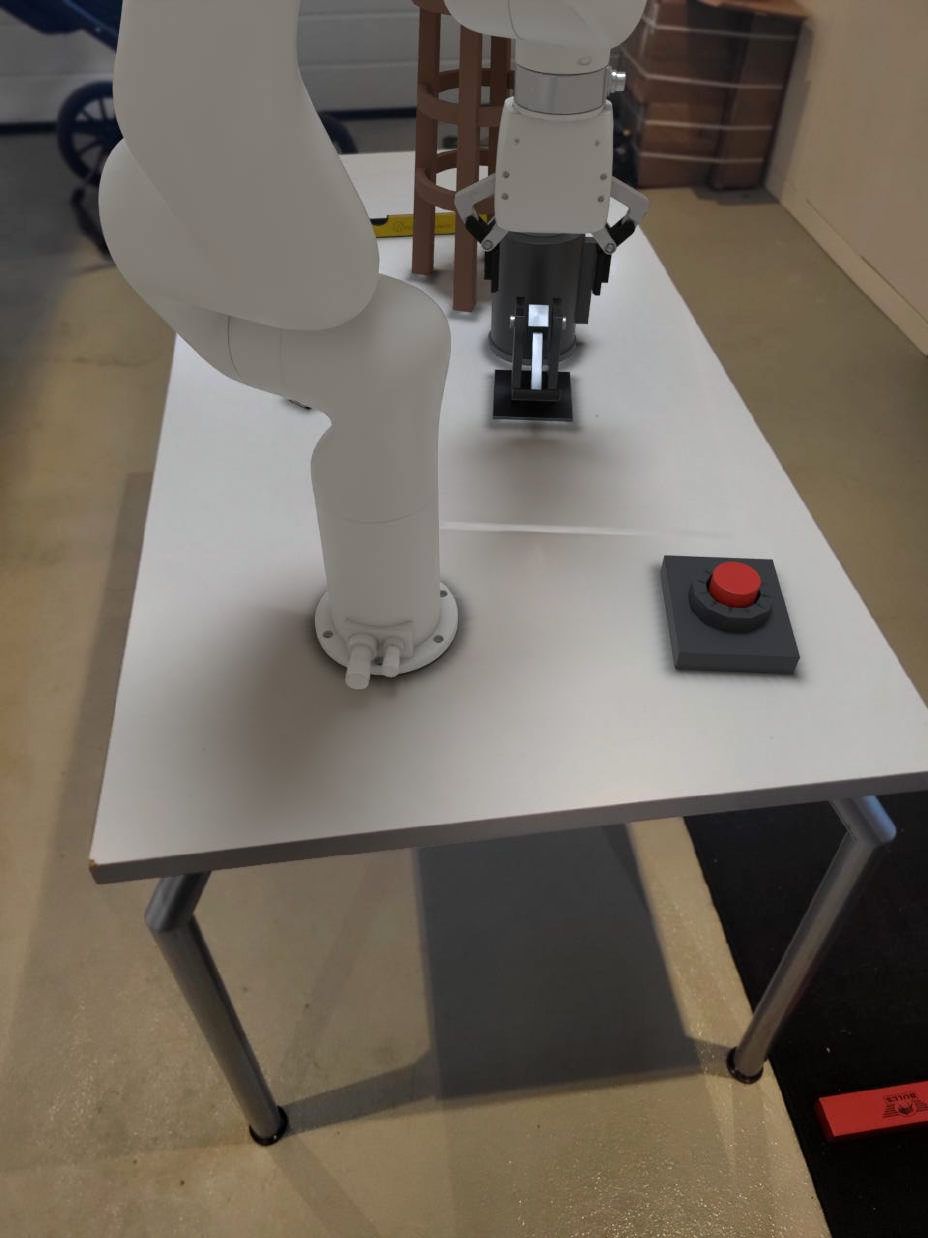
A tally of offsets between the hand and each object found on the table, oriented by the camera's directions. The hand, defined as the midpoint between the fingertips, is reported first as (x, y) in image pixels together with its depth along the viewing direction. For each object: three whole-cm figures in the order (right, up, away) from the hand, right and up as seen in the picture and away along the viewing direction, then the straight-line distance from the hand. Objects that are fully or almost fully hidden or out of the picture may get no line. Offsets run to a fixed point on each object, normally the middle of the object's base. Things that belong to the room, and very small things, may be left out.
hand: (545, 287), depth 84 cm
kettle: (+1, +3, +27) cm, 28 cm away
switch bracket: (0, -6, +18) cm, 20 cm away
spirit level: (-21, +26, +49) cm, 59 cm away
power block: (+16, -32, -5) cm, 36 cm away
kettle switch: (0, -4, +11) cm, 12 cm away
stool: (-5, +15, +39) cm, 42 cm away
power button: (+16, -29, -8) cm, 34 cm away
